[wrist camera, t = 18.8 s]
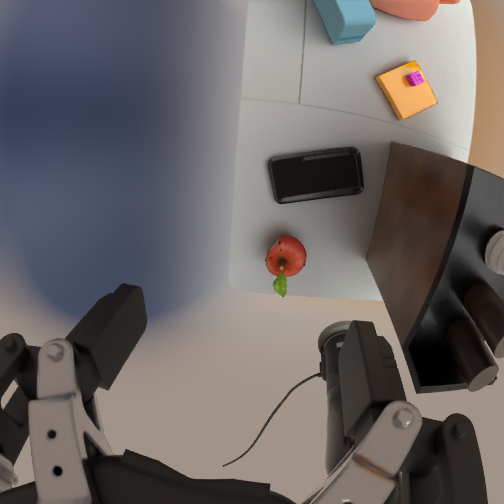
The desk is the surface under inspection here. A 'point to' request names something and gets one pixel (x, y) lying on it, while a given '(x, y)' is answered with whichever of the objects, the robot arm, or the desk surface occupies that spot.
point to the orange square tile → (407, 90)
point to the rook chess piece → (495, 253)
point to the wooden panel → (413, 229)
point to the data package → (346, 19)
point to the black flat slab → (456, 284)
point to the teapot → (410, 7)
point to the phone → (316, 175)
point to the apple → (285, 261)
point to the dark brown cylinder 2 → (471, 354)
